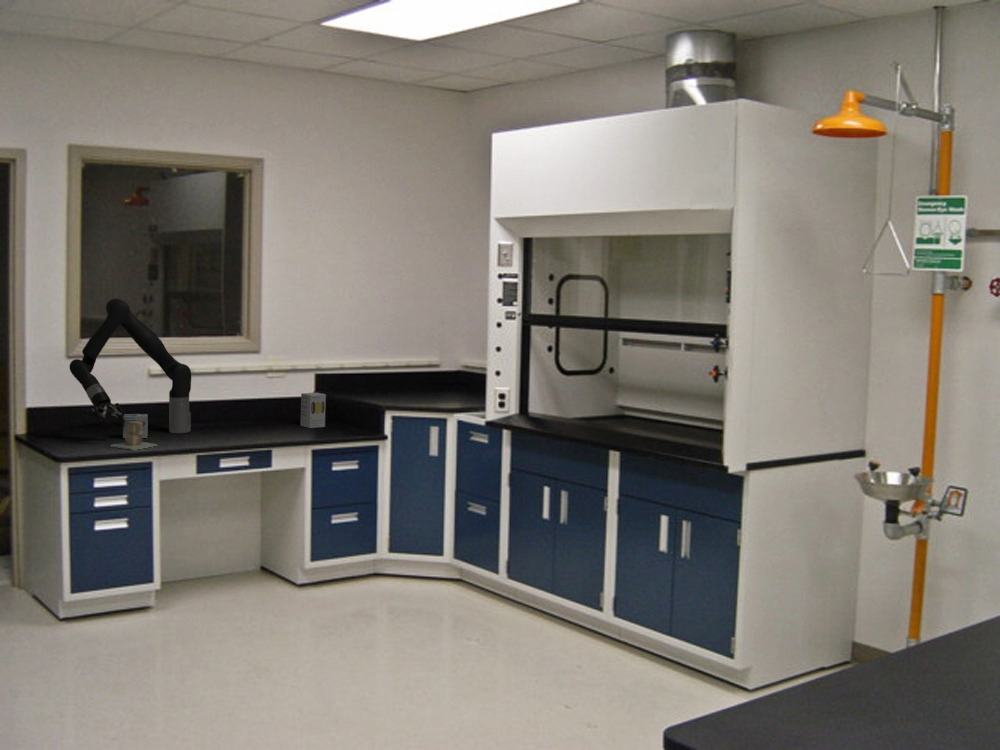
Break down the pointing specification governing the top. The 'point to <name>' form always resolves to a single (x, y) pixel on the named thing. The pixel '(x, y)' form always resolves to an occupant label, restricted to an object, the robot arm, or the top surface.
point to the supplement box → (313, 410)
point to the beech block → (133, 433)
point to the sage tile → (124, 446)
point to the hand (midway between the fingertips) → (115, 424)
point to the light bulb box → (138, 418)
